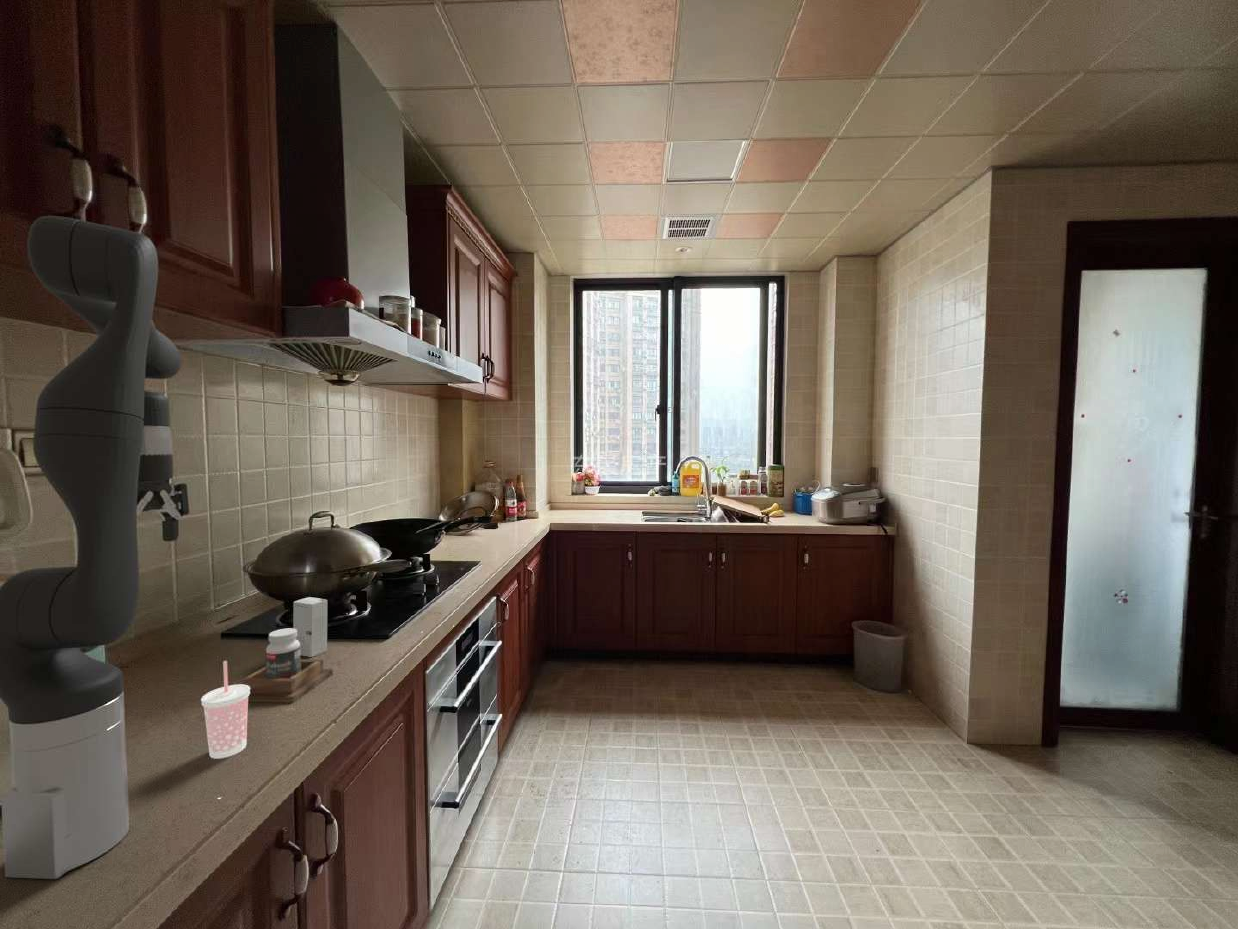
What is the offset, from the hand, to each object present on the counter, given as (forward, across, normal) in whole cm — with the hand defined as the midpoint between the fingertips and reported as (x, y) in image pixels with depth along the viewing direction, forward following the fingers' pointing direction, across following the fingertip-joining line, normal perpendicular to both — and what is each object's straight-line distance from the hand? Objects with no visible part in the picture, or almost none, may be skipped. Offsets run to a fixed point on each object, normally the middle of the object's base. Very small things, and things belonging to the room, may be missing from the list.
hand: (148, 545), depth 92 cm
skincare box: (+30, +28, -10) cm, 42 cm away
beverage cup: (+30, -10, -22) cm, 39 cm away
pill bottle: (+29, +11, -16) cm, 35 cm away
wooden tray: (+30, +11, -16) cm, 36 cm away
